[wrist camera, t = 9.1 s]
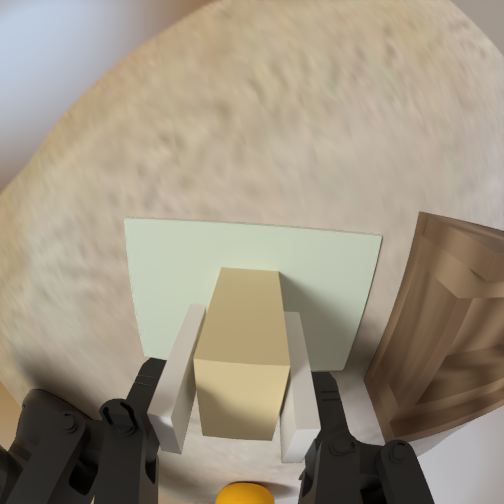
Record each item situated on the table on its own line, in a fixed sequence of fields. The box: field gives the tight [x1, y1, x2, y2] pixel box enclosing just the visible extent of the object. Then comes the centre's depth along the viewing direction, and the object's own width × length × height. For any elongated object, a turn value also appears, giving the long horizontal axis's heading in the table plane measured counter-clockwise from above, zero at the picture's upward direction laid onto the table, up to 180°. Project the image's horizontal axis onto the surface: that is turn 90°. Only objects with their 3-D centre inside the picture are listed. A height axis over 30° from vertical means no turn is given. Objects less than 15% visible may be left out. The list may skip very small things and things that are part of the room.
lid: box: [124, 217, 382, 441], centre depth 12 cm, size 14×10×8 cm
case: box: [364, 212, 504, 443], centre depth 12 cm, size 17×13×6 cm
